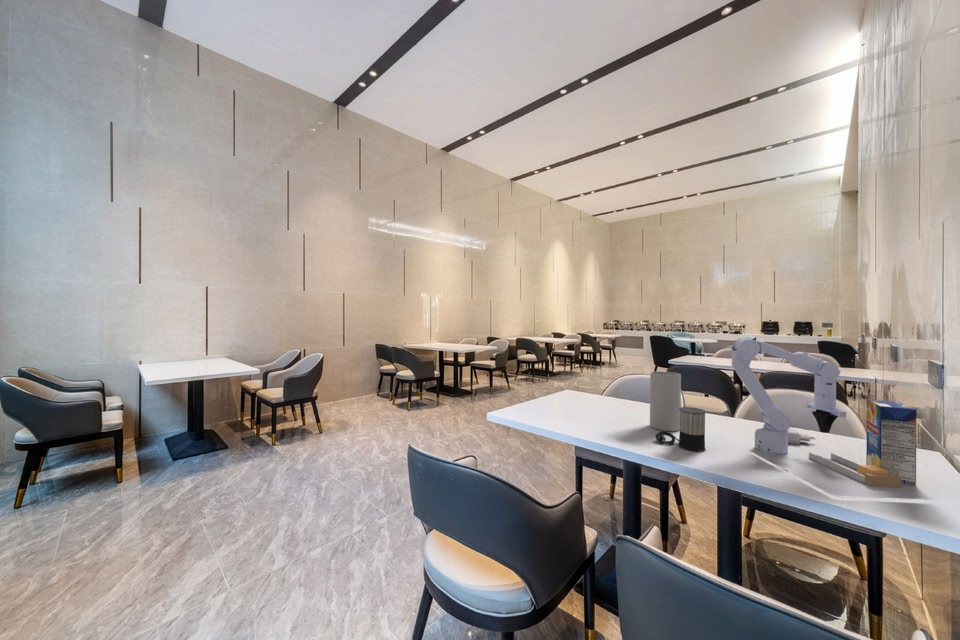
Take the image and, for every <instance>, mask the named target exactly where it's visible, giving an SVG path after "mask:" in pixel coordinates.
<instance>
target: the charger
mask: <svg viewBox="0 0 960 640" xmlns="http://www.w3.org/2000/svg"><path fill="white" fill-rule="evenodd" d="M811 440H816V438H815V437H813V436H810V435H809V434H807V433H806V434H805V433H800V432H799V431H798V430H796V429H795V428H793V427H790V428H789V429H788V444H793V445H799V444H801V441H802V442H803V441H804V442H810V441H811Z"/></svg>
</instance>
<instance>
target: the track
mask: <svg viewBox="0 0 960 640" xmlns="http://www.w3.org/2000/svg"><path fill="white" fill-rule="evenodd" d="M808 459H810V460H813V461H815V462H817V463H819V464H821V465H822V466H823V465H824V466H825V467H828V468H829V469H832V470H834V471H837V472H838V473H841V474H842V475H845V476H846V477H850V478H851V479H854V480H855V481H858V482H860V483H862V484H864V485H867V486H869V487H887V488H890V487H891V488H901V483H900V479H901V477H900V476H897V475H892V474H865V475H862V474H860V473H858V465H863V464H861V463H859V462H856V461H853V460H852V459H849V458H847V457H844V456H842V455H839V454H836V453H835V452H831V453H830V458H829V457H827V458H826V457H823V456H822V455H819V454H816V453H814V452H812V451H811V452H810V451H809V452H808Z"/></svg>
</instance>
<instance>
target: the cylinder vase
mask: <svg viewBox="0 0 960 640" xmlns="http://www.w3.org/2000/svg"><path fill="white" fill-rule="evenodd" d="M649 378H650V380H649V382H650V385H649V386H650V388H649V393H650V394H649V397H650V398H649V426H650V428H652V429H654V430H657V429H658V431H665V432H678V431H680V410H679V408H681V407H682V406H681V404H682V403H681V402H682V401H681V400H682V397H681V396H682V387H681V386H682V380H681V379H682V374H681V373H678V372H671V371H651V372H650V377H649Z"/></svg>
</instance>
